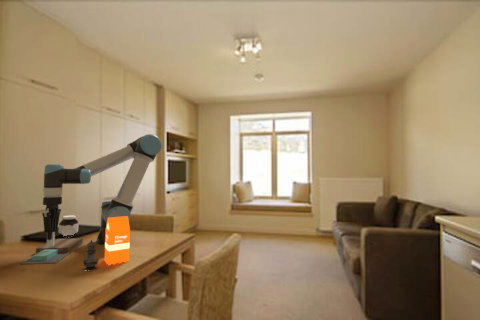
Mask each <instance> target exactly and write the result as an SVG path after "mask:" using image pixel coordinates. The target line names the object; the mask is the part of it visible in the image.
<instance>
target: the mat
mask: <svg viewBox="0 0 480 320" xmlns="http://www.w3.org/2000/svg"><path fill="white" fill-rule="evenodd" d="M70 254H71V252H70V253H58V254H56V255H54V256H53V257H51V258H50V259H48V260H34V261H32V257H30V258H28V259H26V260H25V261H22V262H21V263H20V265H22V266H23V265H45V264H46V265H48V264H57V263H59V262H60V261H62V260H63V259H64V258H66V257H68V256H69V255H70Z"/></svg>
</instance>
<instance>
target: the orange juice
mask: <svg viewBox="0 0 480 320" xmlns="http://www.w3.org/2000/svg"><path fill="white" fill-rule="evenodd" d="M129 222H130V220H128V216H122V217H110V218H108V221H107V226H106V234H105V244H104V262H105V263H106V265H107V264H108V265H107V266H111V264H113V265H117V264H116V263H119V264H123V263H122V262H124V263H128V262H127V261H129V262H130V247H131V246H130V245H131V242H130V241H131V238H130V235H131V226H130V223H129Z"/></svg>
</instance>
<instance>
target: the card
mask: <svg viewBox="0 0 480 320" xmlns="http://www.w3.org/2000/svg"><path fill="white" fill-rule="evenodd" d="M56 254H58V249H45V250H43V251H41V252H39V253H37V254H36V253H35V254H34V255H32V257H31V258H32V261H34V260H48V259H50V258H51V257H53V256H54V255H56Z"/></svg>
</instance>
